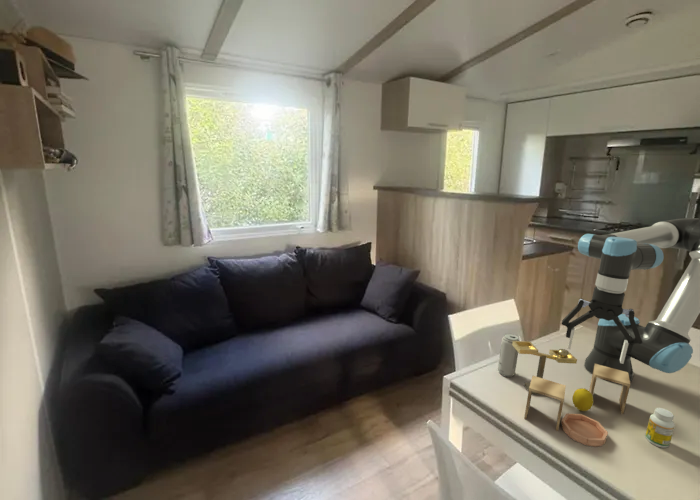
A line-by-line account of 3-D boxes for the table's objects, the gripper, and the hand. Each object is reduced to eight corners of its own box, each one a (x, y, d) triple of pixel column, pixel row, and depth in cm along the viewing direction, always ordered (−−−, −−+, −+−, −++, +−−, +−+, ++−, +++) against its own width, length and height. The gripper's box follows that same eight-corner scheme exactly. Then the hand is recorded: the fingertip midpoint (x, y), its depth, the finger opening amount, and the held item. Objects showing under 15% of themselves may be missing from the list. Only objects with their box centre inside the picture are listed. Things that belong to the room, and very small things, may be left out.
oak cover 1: (559, 415, 113) (565, 385, 110) (558, 431, 107) (564, 399, 104) (527, 404, 118) (532, 375, 115) (524, 418, 111) (529, 387, 109)
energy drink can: (498, 367, 140) (503, 331, 136) (515, 371, 137) (521, 335, 133) (496, 374, 134) (501, 337, 131) (513, 379, 132) (519, 342, 128)
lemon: (593, 417, 113) (598, 395, 111) (574, 415, 114) (578, 392, 112) (586, 406, 118) (590, 384, 116) (567, 403, 119) (571, 382, 117)
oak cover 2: (621, 401, 121) (628, 372, 119) (623, 414, 115) (630, 384, 112) (588, 391, 126) (594, 363, 123) (588, 403, 119) (595, 374, 117)
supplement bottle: (669, 451, 100) (677, 421, 98) (644, 441, 103) (652, 412, 101) (668, 440, 104) (676, 411, 102) (645, 431, 107) (652, 403, 105)
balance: (560, 386, 128) (568, 343, 124) (569, 396, 122) (578, 352, 118) (506, 383, 129) (512, 340, 125) (513, 394, 123) (520, 349, 119)
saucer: (590, 420, 111) (591, 414, 111) (614, 447, 101) (616, 441, 100) (554, 418, 112) (555, 412, 111) (574, 445, 101) (576, 439, 100)
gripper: (661, 296, 103) (643, 362, 108) (562, 277, 116) (550, 337, 121) (666, 303, 97) (647, 373, 102) (560, 282, 110) (548, 346, 115)
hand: (594, 354), depth 112 cm, fingers open, 13 cm apart
